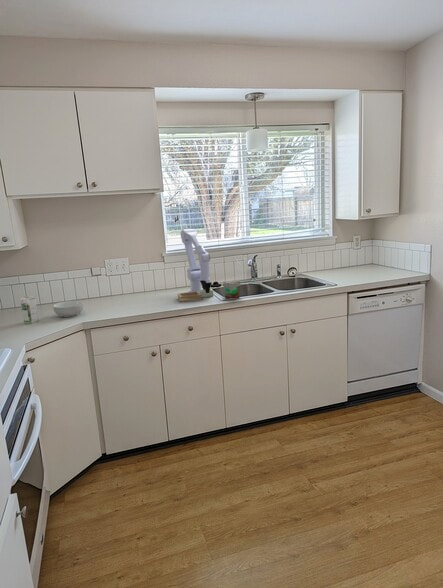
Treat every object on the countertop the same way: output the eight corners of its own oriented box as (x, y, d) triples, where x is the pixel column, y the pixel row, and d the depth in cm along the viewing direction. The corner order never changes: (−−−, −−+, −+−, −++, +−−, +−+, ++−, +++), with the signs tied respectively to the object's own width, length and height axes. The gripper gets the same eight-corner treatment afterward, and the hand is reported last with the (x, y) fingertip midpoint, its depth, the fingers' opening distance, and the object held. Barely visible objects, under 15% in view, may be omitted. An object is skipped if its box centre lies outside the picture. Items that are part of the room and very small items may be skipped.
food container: (220, 298, 258) (219, 283, 256) (224, 296, 263) (223, 281, 261) (237, 299, 252) (236, 284, 250) (241, 297, 257) (240, 282, 255)
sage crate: (199, 295, 268) (199, 290, 267) (211, 294, 270) (211, 288, 269) (201, 297, 263) (201, 291, 263) (213, 296, 265) (212, 290, 264)
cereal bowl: (84, 317, 230) (82, 305, 229) (53, 320, 226) (51, 308, 224) (85, 310, 246) (83, 299, 245) (56, 313, 242) (54, 302, 240)
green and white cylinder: (23, 323, 224) (19, 298, 221) (32, 320, 229) (28, 295, 226) (30, 324, 222) (26, 298, 219) (39, 321, 227) (35, 296, 224)
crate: (178, 298, 263) (177, 293, 263) (198, 296, 267) (198, 291, 266) (180, 302, 254) (180, 296, 253) (201, 299, 257) (201, 294, 256)
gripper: (196, 270, 269) (198, 290, 272) (201, 273, 255) (202, 294, 258) (207, 269, 271) (208, 289, 274) (212, 272, 257) (213, 293, 260)
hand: (206, 291), depth 266 cm, fingers open, 7 cm apart
